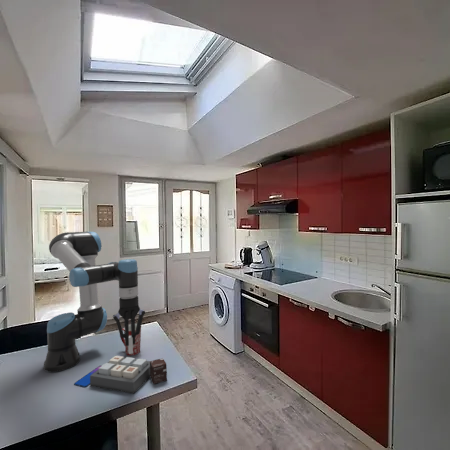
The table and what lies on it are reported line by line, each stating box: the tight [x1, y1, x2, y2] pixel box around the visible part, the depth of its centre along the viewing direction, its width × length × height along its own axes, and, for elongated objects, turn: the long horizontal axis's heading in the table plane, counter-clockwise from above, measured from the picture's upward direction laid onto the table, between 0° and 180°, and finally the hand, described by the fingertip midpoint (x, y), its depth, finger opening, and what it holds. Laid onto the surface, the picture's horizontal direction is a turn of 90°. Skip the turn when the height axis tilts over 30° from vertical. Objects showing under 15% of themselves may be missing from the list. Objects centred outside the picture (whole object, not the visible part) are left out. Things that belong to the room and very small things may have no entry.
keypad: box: [89, 357, 151, 395], centre depth 116 cm, size 21×16×4 cm
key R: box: [121, 356, 136, 369], centre depth 119 cm, size 4×4×3 cm
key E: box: [132, 358, 148, 372], centre depth 117 cm, size 4×4×3 cm
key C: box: [123, 366, 139, 379], centre depth 111 cm, size 4×4×3 cm
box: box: [149, 357, 168, 385], centre depth 115 cm, size 6×6×7 cm
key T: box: [111, 365, 126, 377], centre depth 112 cm, size 4×4×3 cm
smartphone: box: [73, 365, 102, 388], centre depth 118 cm, size 7×1×15 cm
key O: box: [99, 362, 115, 375], centre depth 114 cm, size 4×4×3 cm
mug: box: [119, 323, 142, 357], centre depth 140 cm, size 13×9×14 cm
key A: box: [108, 355, 125, 366], centre depth 120 cm, size 4×4×3 cm
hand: (130, 352), depth 111 cm, fingers closed
